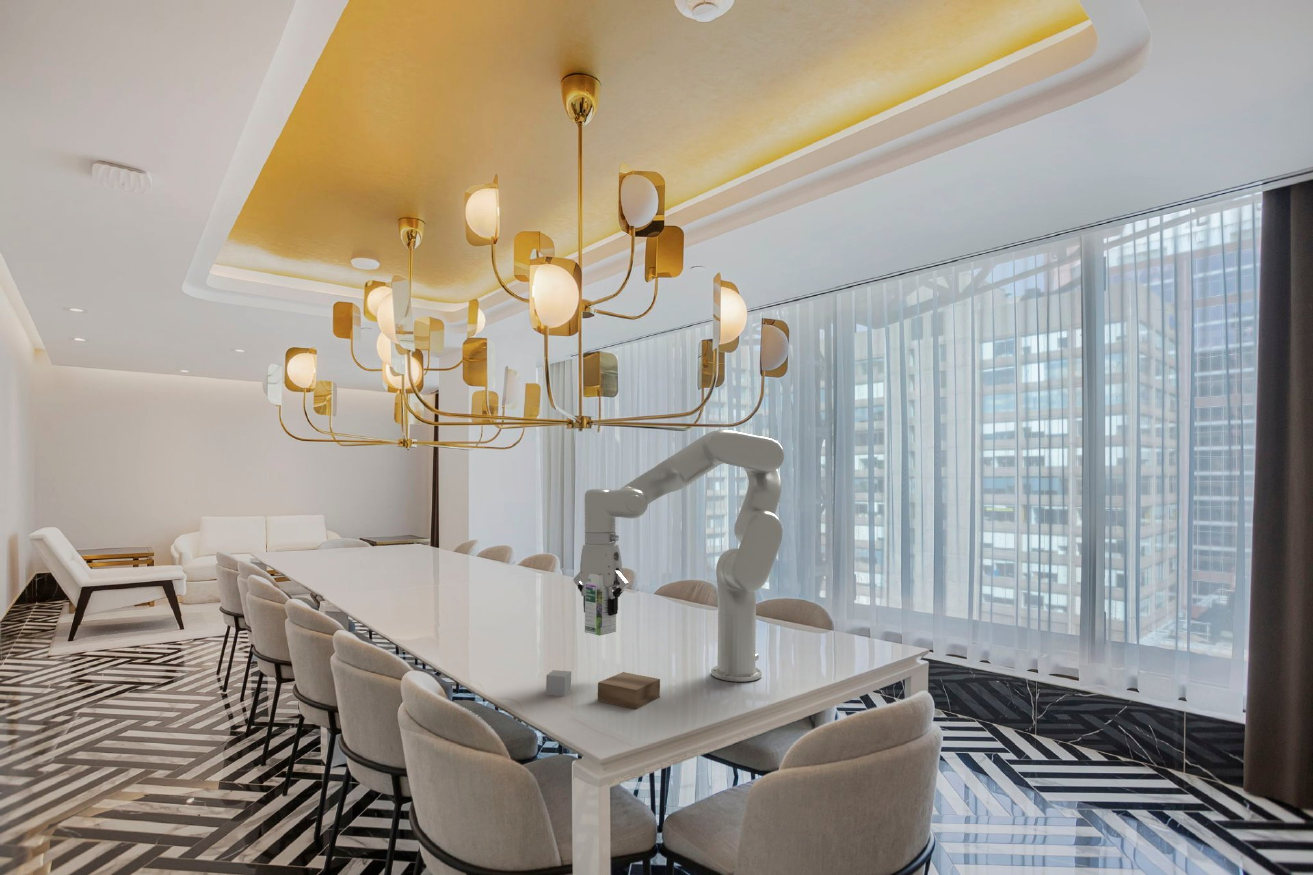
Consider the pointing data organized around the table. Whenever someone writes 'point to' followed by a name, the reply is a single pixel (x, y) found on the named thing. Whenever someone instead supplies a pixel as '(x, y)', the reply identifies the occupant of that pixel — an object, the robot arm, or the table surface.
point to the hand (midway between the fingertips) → (600, 612)
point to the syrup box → (597, 607)
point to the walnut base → (628, 690)
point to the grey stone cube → (558, 683)
